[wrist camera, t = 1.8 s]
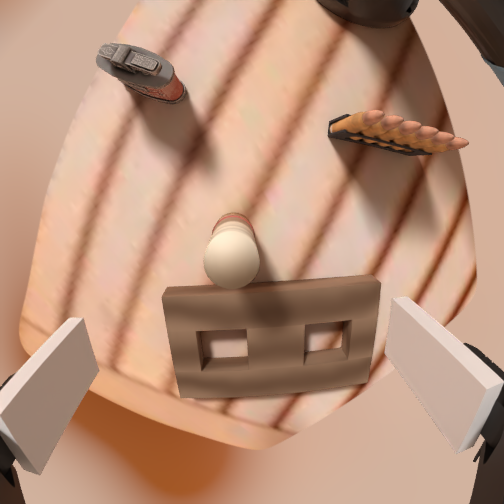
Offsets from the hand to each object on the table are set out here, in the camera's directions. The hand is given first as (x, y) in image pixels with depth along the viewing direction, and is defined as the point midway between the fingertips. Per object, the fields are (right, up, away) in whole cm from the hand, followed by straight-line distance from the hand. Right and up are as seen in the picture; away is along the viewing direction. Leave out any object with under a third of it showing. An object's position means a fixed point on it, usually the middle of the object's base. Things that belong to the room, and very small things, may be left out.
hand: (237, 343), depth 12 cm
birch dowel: (-1, +6, +22) cm, 23 cm away
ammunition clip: (+14, +16, +20) cm, 30 cm away
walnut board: (+3, -7, +25) cm, 26 cm away
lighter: (-10, +22, +18) cm, 30 cm away
